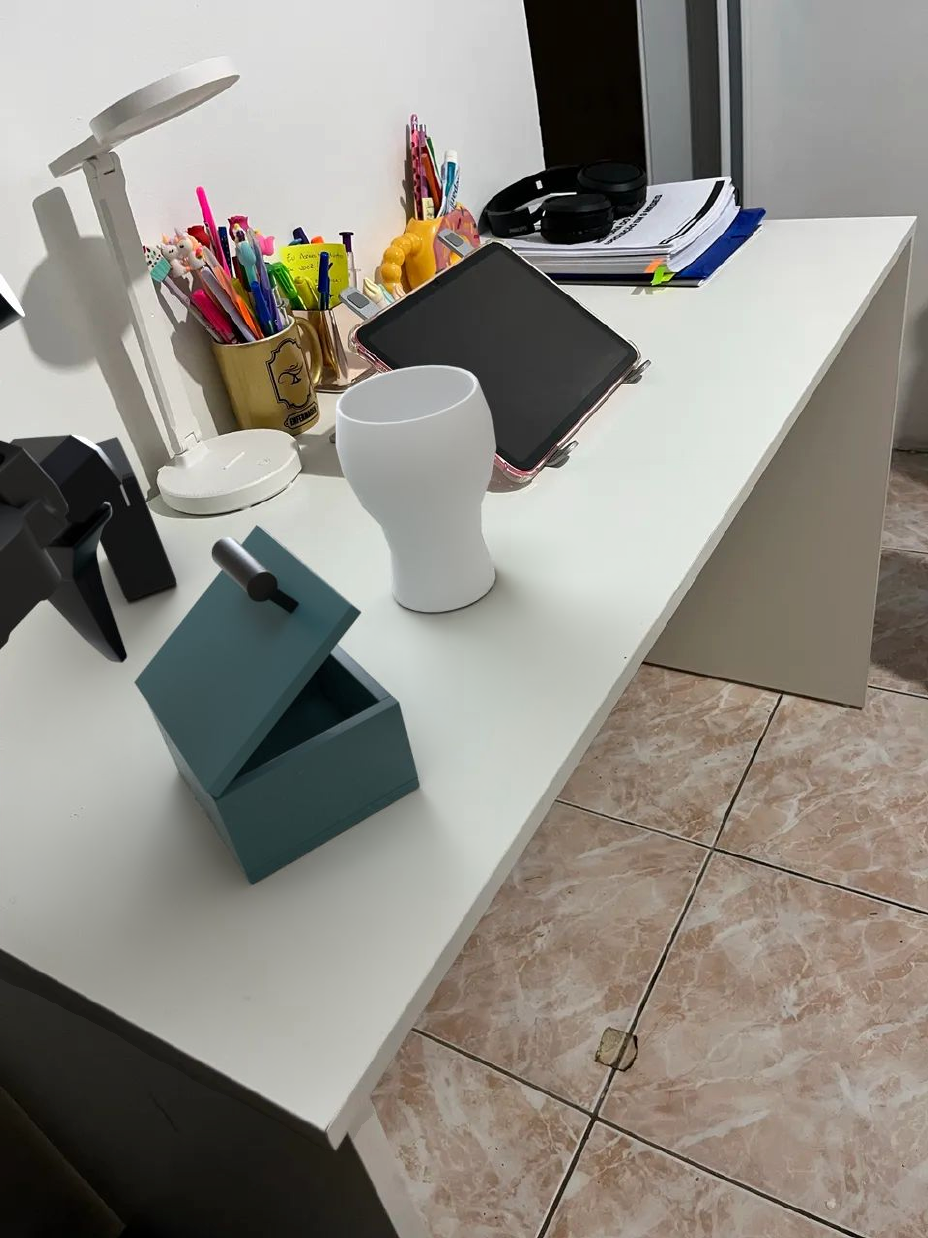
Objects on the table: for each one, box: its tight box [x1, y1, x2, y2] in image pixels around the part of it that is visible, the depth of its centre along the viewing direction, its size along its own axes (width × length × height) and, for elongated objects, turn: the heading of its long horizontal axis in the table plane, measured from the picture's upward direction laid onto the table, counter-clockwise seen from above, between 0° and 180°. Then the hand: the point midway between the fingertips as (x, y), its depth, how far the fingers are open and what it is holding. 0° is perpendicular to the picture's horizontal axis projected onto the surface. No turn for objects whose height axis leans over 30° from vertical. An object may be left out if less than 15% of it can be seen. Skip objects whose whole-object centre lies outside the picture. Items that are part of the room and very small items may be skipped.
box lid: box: [134, 524, 362, 797], centre depth 49 cm, size 11×12×4 cm
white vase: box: [335, 364, 497, 613], centre depth 66 cm, size 11×11×15 cm
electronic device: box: [94, 436, 177, 602], centre depth 77 cm, size 4×10×10 cm, turn 26°
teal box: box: [147, 643, 421, 885], centre depth 54 cm, size 11×12×6 cm
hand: (56, 735), depth 43 cm, fingers open, 9 cm apart
